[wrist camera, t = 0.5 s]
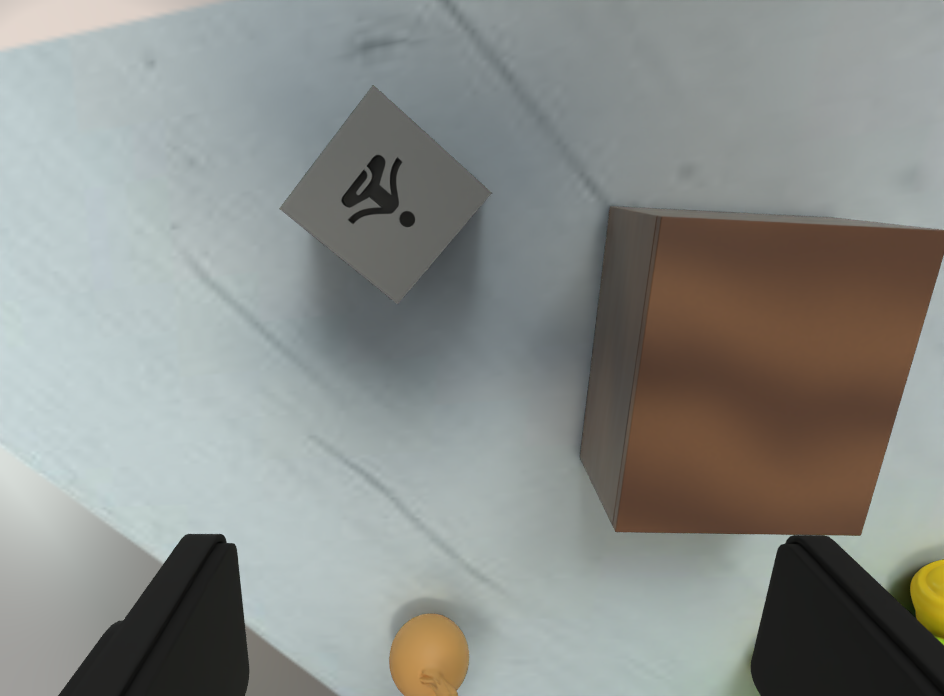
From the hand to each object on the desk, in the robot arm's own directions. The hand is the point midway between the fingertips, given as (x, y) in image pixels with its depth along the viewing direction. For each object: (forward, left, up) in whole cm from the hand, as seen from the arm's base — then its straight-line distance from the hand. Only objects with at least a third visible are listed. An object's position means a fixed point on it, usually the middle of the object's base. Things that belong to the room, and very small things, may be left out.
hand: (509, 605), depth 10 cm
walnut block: (0, +11, -17) cm, 20 cm away
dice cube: (-6, -3, -17) cm, 18 cm away
